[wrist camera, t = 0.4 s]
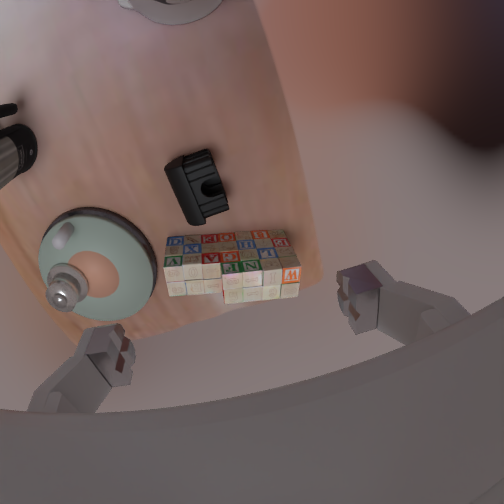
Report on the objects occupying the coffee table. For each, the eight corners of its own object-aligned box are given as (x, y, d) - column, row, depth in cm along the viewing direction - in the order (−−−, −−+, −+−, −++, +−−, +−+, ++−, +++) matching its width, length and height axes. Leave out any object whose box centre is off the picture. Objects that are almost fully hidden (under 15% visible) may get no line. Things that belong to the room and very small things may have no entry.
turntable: (22, 234, 45) (7, 252, 39) (126, 197, 45) (116, 214, 40) (76, 323, 58) (69, 344, 53) (170, 304, 59) (169, 327, 54)
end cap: (166, 160, 45) (161, 173, 40) (207, 144, 45) (208, 155, 40) (188, 212, 51) (187, 231, 45) (227, 198, 51) (231, 215, 45)
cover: (41, 268, 48) (30, 287, 43) (75, 258, 48) (65, 278, 43) (62, 302, 53) (54, 322, 48) (96, 294, 53) (89, 316, 48)
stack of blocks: (171, 264, 56) (167, 309, 46) (167, 236, 53) (160, 278, 43) (281, 256, 59) (298, 297, 49) (283, 228, 56) (303, 267, 46)
